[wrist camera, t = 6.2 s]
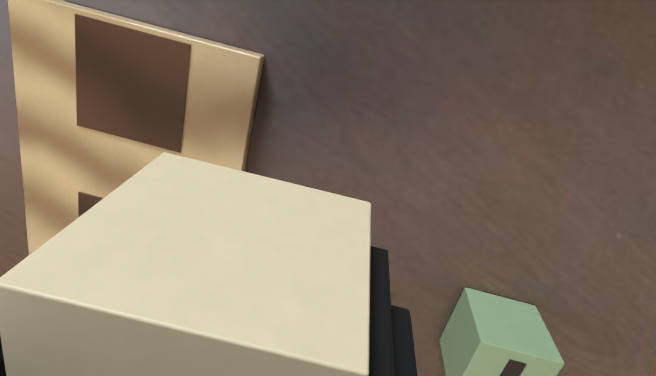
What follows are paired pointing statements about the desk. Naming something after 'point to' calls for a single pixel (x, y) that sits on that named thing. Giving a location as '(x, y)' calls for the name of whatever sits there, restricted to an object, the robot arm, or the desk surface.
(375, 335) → the robot arm
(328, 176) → the desk surface
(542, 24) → the desk surface
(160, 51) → the word board
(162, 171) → the cream cube
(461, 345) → the letter tile i
